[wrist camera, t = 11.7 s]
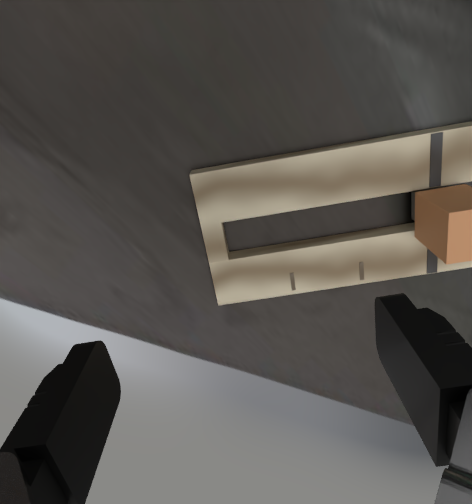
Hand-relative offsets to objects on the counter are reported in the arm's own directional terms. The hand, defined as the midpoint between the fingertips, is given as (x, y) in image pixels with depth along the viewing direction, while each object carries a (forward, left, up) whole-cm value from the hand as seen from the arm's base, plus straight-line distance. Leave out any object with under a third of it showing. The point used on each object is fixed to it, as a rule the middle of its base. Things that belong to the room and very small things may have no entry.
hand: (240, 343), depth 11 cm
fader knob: (+7, +18, -28) cm, 34 cm away
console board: (+7, +11, -28) cm, 30 cm away
